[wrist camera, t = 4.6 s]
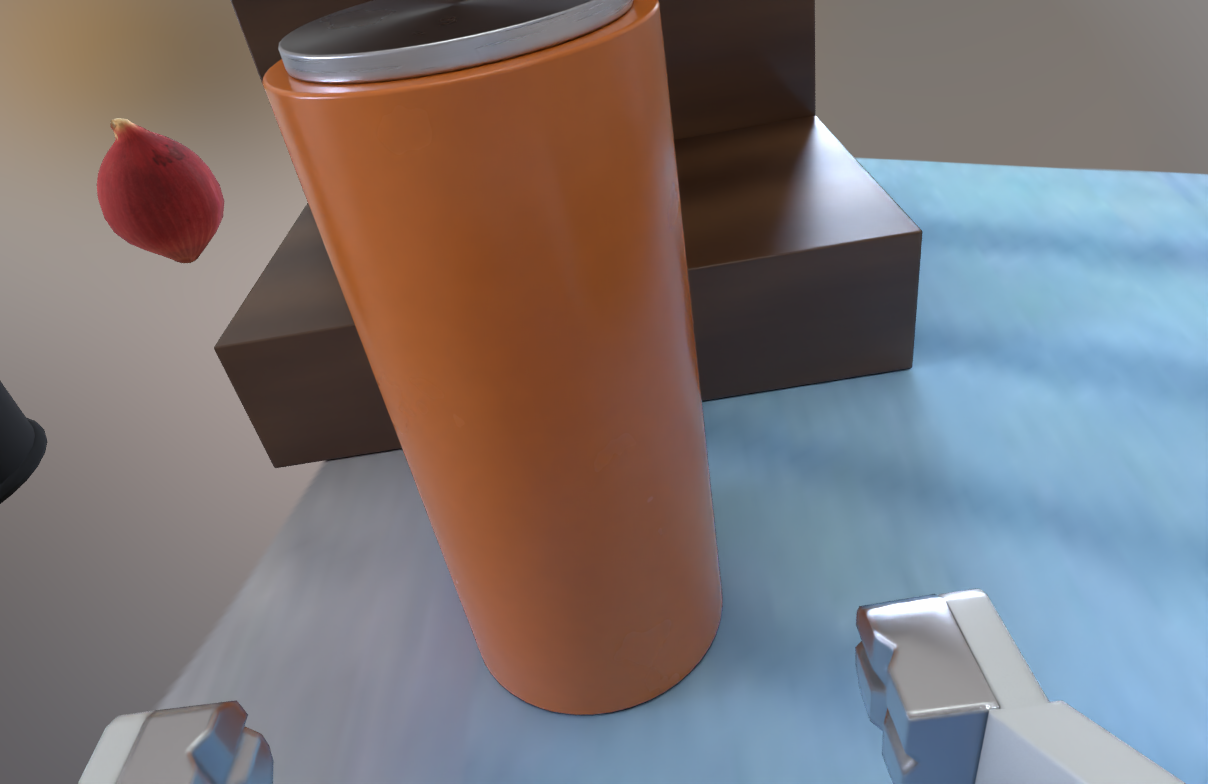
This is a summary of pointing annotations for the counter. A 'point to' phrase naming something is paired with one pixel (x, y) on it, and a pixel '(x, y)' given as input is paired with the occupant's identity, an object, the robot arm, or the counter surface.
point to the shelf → (711, 229)
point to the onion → (158, 193)
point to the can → (524, 318)
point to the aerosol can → (17, 445)
